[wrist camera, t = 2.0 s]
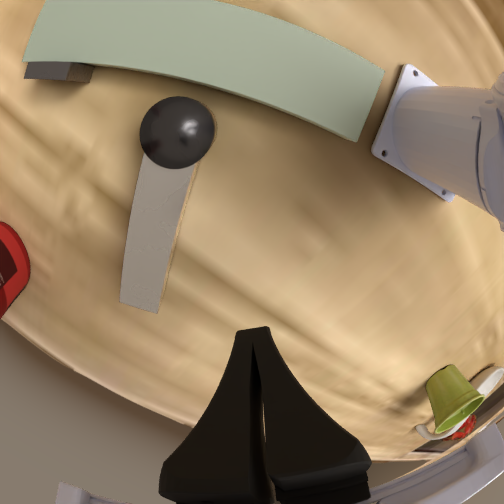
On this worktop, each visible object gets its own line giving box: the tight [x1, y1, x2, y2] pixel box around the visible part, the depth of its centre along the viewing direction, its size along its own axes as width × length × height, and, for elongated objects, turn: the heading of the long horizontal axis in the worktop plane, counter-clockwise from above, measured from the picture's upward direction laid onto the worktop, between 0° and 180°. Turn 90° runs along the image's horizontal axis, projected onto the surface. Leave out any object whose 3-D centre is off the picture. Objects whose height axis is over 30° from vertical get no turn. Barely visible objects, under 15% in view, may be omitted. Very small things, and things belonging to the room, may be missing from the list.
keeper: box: [24, 61, 94, 83], centre depth 12 cm, size 4×1×3 cm, turn 70°
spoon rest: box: [415, 366, 504, 440], centre depth 38 cm, size 24×12×7 cm, turn 148°
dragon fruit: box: [440, 413, 477, 441], centre depth 46 cm, size 8×8×12 cm
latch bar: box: [119, 96, 217, 314], centre depth 17 cm, size 14×4×3 cm, turn 160°
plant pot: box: [426, 365, 485, 433], centre depth 30 cm, size 9×9×9 cm
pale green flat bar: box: [22, 0, 385, 143], centre depth 12 cm, size 24×5×2 cm, turn 70°
